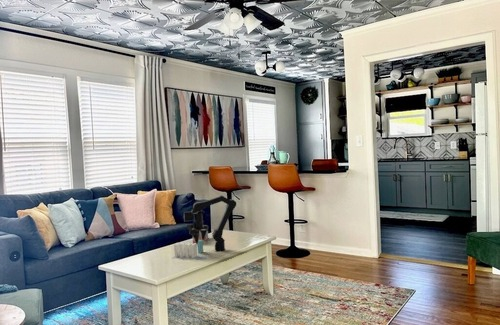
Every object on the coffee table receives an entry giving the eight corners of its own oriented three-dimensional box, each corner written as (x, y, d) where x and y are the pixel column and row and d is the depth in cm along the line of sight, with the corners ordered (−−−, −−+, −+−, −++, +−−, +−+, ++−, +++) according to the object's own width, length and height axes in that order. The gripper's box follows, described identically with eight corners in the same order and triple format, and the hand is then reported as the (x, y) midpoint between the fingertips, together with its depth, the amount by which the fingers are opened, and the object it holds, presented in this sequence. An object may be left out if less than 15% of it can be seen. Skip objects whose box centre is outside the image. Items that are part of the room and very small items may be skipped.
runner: (211, 256, 266) (211, 255, 266) (204, 260, 257) (204, 259, 257) (179, 254, 276) (179, 254, 276) (171, 258, 267) (171, 258, 267)
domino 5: (203, 252, 279) (202, 240, 278) (199, 254, 274) (199, 241, 274) (201, 252, 279) (200, 239, 279) (198, 254, 275) (197, 241, 274)
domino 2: (186, 255, 271) (185, 242, 271) (182, 257, 266) (181, 244, 266) (184, 255, 271) (183, 242, 271) (180, 257, 267) (179, 244, 267)
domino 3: (191, 255, 269) (190, 243, 269) (188, 257, 264) (187, 244, 264) (189, 255, 270) (188, 243, 269) (186, 257, 265) (185, 244, 265)
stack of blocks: (201, 238, 327) (200, 223, 327) (208, 238, 326) (207, 223, 326) (192, 244, 306) (191, 229, 306) (200, 244, 305) (199, 228, 305)
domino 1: (180, 255, 272) (179, 242, 272) (176, 257, 268) (175, 244, 268) (178, 255, 273) (177, 242, 273) (174, 257, 268) (174, 244, 268)
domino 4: (197, 256, 267) (196, 243, 267) (193, 258, 263) (192, 245, 263) (195, 255, 268) (194, 243, 268) (191, 257, 263) (190, 244, 263)
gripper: (195, 217, 288) (196, 238, 288) (182, 222, 270) (183, 244, 271) (208, 217, 284) (209, 238, 284) (195, 222, 266) (197, 244, 267)
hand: (200, 241), depth 277 cm, fingers open, 9 cm apart
